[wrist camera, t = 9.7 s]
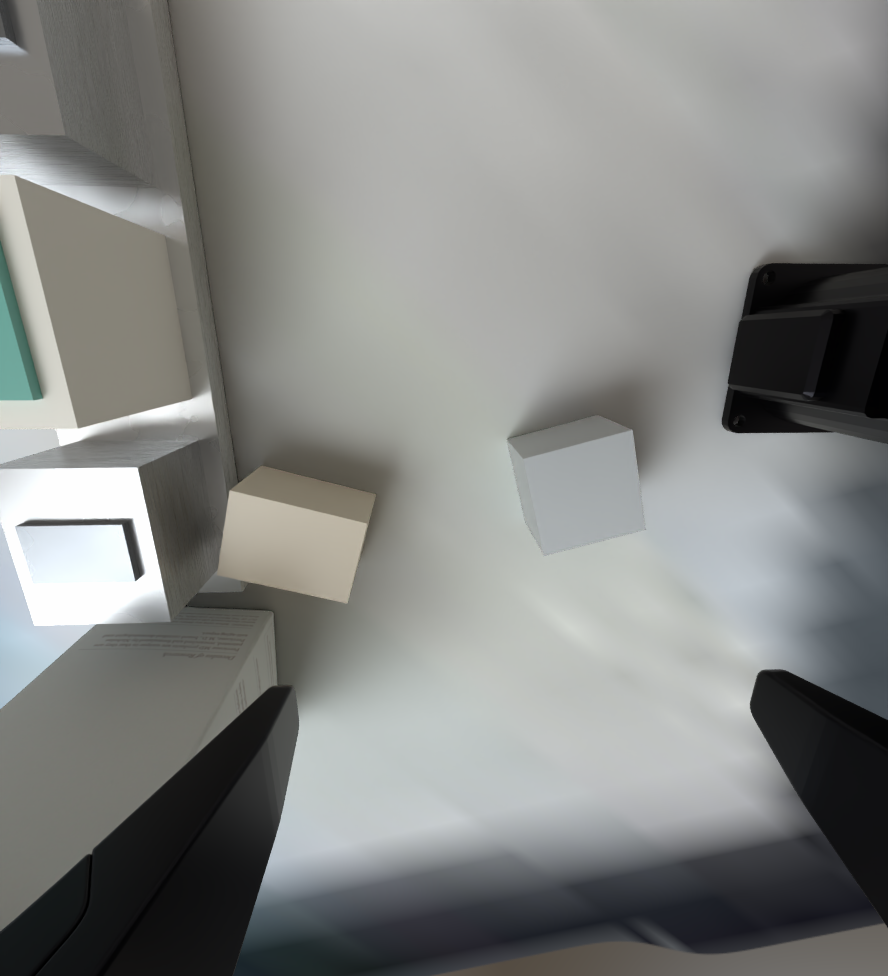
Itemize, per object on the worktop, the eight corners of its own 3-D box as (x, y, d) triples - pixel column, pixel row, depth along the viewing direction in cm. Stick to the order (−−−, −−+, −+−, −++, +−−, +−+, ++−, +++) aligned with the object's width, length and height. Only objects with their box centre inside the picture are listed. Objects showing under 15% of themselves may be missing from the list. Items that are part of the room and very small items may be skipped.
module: (164, 235, 15) (2, 170, 9) (192, 399, 17) (69, 431, 11) (27, 233, 15) (-228, 166, 9) (69, 399, 17) (-124, 432, 11)
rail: (159, -52, 14) (4, -284, 9) (252, 578, 21) (195, 657, 16) (-44, -61, 14) (-328, -305, 9) (118, 580, 21) (15, 662, 15)
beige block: (376, 493, 20) (367, 523, 17) (359, 562, 21) (347, 603, 18) (262, 464, 19) (229, 490, 16) (250, 536, 20) (216, 575, 17)
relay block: (596, 414, 19) (632, 429, 16) (609, 498, 21) (645, 529, 17) (506, 438, 20) (523, 459, 16) (524, 521, 21) (544, 555, 17)
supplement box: (114, 600, 21) (-297, 948, 9) (278, 607, 21) (96, 946, 10) (134, 725, 23) (-172, 1137, 11) (282, 729, 24) (139, 1127, 12)
